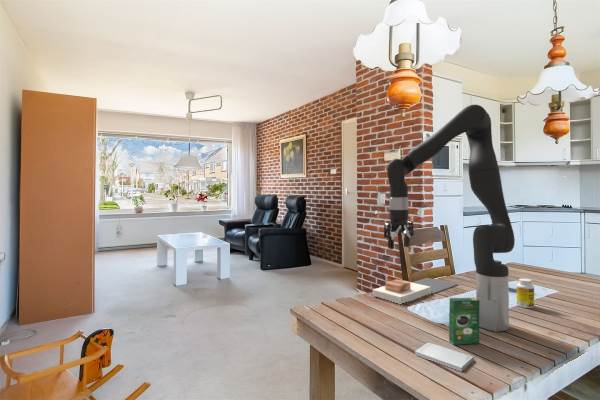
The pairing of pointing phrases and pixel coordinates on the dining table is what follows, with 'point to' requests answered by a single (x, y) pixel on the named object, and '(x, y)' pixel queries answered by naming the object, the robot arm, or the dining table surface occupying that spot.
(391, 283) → the terracotta block
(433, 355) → the hard drive
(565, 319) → the dining table surface
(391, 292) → the block
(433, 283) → the mat
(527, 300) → the supplement bottle
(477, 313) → the coffee box
